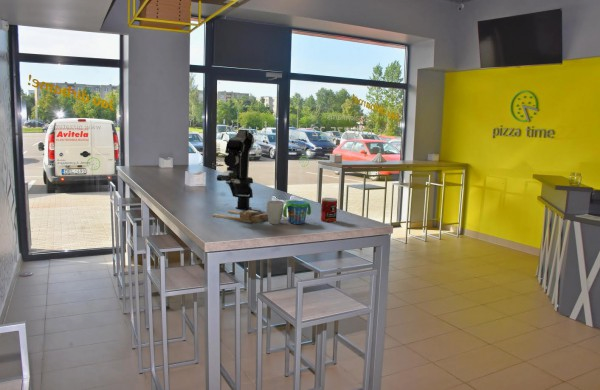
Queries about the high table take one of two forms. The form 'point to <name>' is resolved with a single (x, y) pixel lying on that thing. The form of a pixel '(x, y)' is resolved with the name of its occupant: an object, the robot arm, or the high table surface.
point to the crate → (248, 214)
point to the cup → (275, 211)
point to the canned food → (328, 209)
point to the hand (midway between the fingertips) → (234, 196)
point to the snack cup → (297, 211)
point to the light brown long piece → (253, 219)
